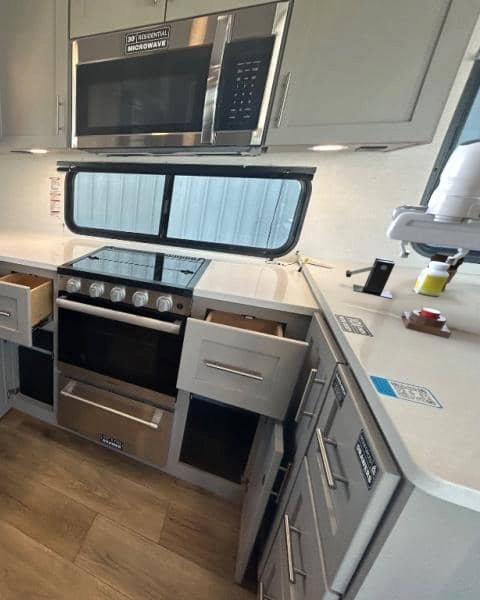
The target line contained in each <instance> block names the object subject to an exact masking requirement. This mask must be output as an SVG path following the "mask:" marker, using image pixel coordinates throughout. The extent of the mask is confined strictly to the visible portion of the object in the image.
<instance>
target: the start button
mask: <svg viewBox="0 0 480 600" xmlns="http://www.w3.org/2000/svg"><path fill="white" fill-rule="evenodd" d="M420 314H421V315H423V316H426V317H429V318H434V319H438V318H439V316H441V314H442V312H441V311H439V310H437V309H434V308H430V307H429V308H428V307H422V308H421V312H420Z"/></svg>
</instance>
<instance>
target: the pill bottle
mask: <svg viewBox="0 0 480 600" xmlns="http://www.w3.org/2000/svg"><path fill="white" fill-rule="evenodd" d="M429 262H430V261H429ZM428 265H429V268H428V267H426V268H423V269H422V270H421V272H420V274H419V276H418V278H417V280H416V283H415V285H414V286H413V288H412V292H413V293H415V294H418V295H421V296H426V297H432V298H438V297H439V296H440V294H441V293H442V291H441V290H442V289H443V287H444V285H445V283H446V281H447V279H448V277H449V273H448V272H446V270H447V269H448V268H449V266H450V265H449V264H446V263H442V262H436V261H431V262H430V263H428Z"/></svg>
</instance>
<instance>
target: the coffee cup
mask: <svg viewBox="0 0 480 600" xmlns="http://www.w3.org/2000/svg"><path fill="white" fill-rule="evenodd" d="M455 255H456V254H454V253H447V252H436V253H434V254H433V255H431V256H430V261H429V263H430V262H431V261H436V262H442V263H445V262H446V260H447V258H448V257H453V256H455ZM464 262H465V256H463V257H461V258H460V259H458V260H457V262H456V264H455V265H450V266H449V268H448V269H447V270H446V272H448V273H449V277H448V279H447V281H446V283H445V285H444V287H443V289H442V290H441V292H445V291H446V287H447V284H450V283H451V281H452V280H453V278H454V277H455V276H456V274H457V273H458V269H459V267H460V266H462V265H463V263H464ZM429 263H428V265H427V268H429Z"/></svg>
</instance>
